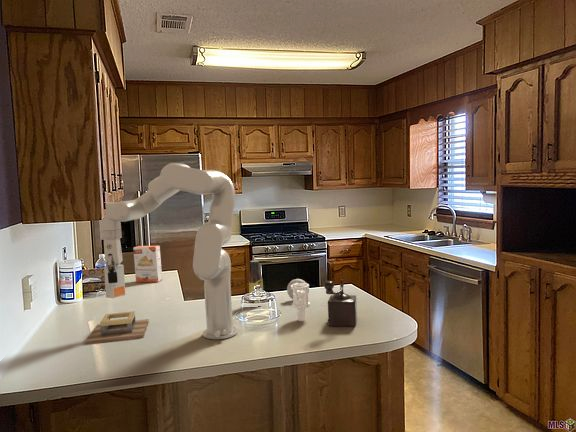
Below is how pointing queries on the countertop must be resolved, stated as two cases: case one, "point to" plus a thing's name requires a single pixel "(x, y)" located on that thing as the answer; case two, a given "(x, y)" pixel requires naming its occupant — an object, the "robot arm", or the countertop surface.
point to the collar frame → (118, 323)
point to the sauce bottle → (255, 276)
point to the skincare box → (114, 288)
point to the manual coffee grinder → (341, 307)
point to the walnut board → (136, 333)
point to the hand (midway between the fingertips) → (114, 280)
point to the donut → (289, 290)
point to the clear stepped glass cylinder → (300, 299)
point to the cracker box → (147, 264)
